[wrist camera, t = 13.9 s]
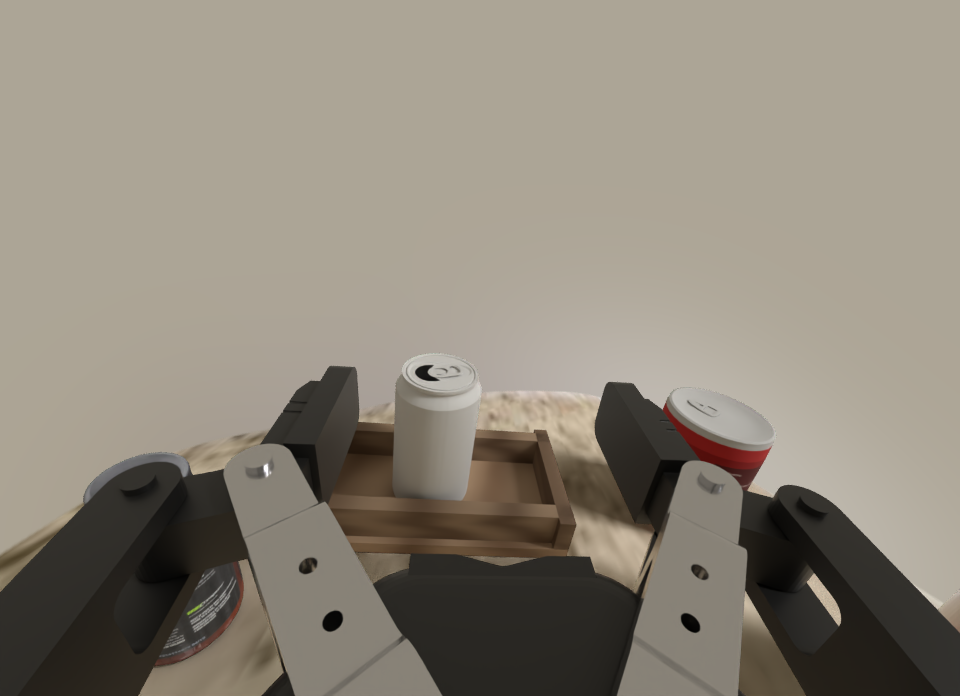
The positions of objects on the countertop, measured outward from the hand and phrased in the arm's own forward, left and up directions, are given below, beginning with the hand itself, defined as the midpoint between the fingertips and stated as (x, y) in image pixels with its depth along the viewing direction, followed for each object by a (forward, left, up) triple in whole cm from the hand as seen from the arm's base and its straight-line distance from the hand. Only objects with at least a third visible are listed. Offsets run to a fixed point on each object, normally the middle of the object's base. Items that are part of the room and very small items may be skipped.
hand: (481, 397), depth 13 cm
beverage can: (+1, -14, -19) cm, 24 cm away
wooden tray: (+1, -15, -20) cm, 25 cm away
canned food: (-21, -15, -20) cm, 33 cm away
